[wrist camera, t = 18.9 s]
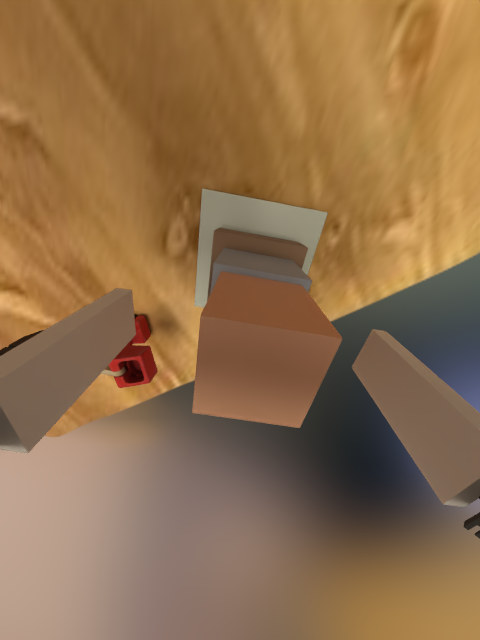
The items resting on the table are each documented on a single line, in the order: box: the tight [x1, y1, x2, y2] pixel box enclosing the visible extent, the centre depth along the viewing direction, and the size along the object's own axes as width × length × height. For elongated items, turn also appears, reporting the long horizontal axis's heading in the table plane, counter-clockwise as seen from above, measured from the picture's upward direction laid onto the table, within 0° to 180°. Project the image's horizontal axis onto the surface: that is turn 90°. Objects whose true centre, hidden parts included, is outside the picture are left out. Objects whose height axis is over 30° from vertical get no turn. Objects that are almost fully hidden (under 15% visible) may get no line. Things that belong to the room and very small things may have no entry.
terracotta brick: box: [192, 271, 342, 428], centre depth 11 cm, size 5×5×6 cm
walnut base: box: [207, 228, 308, 301], centre depth 21 cm, size 8×8×4 cm
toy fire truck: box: [101, 315, 157, 388], centre depth 23 cm, size 3×14×10 cm, turn 94°
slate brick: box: [210, 248, 312, 294], centre depth 16 cm, size 6×6×6 cm
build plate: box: [194, 189, 328, 307], centre depth 22 cm, size 12×12×1 cm
